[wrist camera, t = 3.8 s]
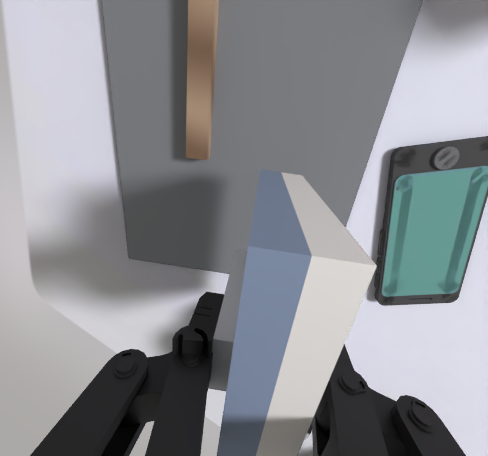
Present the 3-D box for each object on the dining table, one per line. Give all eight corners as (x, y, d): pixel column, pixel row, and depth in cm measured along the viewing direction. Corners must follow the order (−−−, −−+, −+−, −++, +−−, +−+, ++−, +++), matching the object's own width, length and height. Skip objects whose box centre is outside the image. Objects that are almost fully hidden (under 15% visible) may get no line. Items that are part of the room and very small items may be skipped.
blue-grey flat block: (268, 324, 18) (270, 519, 9) (237, 319, 18) (209, 507, 9) (302, 175, 14) (377, 266, 4) (260, 169, 14) (248, 246, 4)
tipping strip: (209, 157, 18) (205, 160, 17) (191, 155, 18) (185, 157, 17) (222, -52, 13) (217, -72, 12) (197, -55, 13) (189, -76, 12)
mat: (323, 284, 23) (324, 288, 23) (131, 255, 24) (128, 258, 23) (433, -46, 13) (440, -53, 13) (99, -83, 14) (92, -91, 13)
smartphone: (508, 135, 16) (458, 304, 22) (491, 134, 17) (448, 295, 23) (394, 149, 17) (376, 307, 23) (386, 148, 18) (370, 298, 24)
